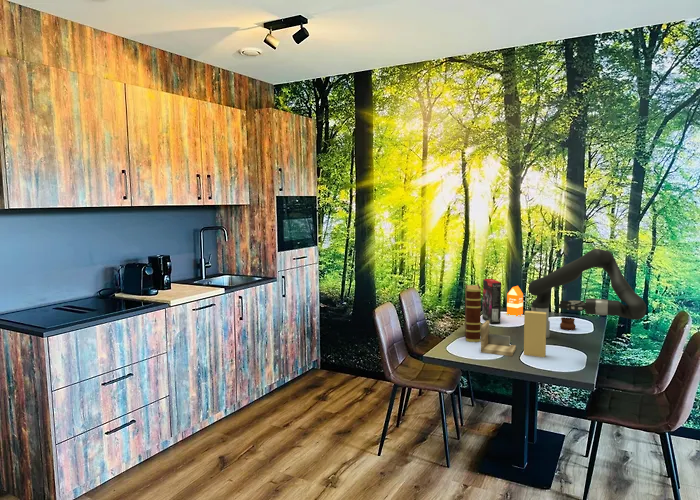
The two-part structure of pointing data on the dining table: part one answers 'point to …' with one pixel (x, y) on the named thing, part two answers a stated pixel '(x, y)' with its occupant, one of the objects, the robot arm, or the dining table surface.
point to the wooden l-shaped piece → (491, 347)
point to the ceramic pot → (567, 323)
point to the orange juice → (515, 301)
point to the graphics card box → (491, 301)
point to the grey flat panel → (499, 339)
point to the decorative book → (472, 312)
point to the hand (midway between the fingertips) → (559, 304)
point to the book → (535, 333)
